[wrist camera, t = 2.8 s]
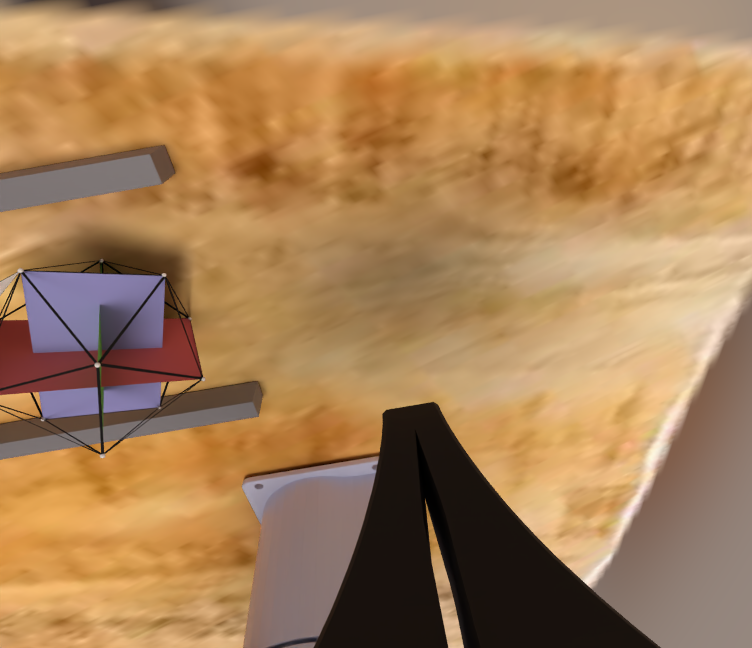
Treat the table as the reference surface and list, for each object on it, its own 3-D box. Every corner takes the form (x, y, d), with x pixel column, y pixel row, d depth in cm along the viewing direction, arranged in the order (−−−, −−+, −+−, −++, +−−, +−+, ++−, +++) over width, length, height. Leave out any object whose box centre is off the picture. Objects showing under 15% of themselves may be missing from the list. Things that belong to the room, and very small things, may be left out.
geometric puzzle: (259, 288, 17) (19, 373, 10) (238, 414, 20) (47, 536, 14) (141, 215, 19) (-115, 247, 13) (140, 339, 23) (-62, 413, 16)
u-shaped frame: (164, 145, 16) (132, 164, 13) (262, 395, 22) (254, 439, 20) (-266, 219, 16) (-378, 252, 13) (-38, 445, 23) (-85, 496, 20)
